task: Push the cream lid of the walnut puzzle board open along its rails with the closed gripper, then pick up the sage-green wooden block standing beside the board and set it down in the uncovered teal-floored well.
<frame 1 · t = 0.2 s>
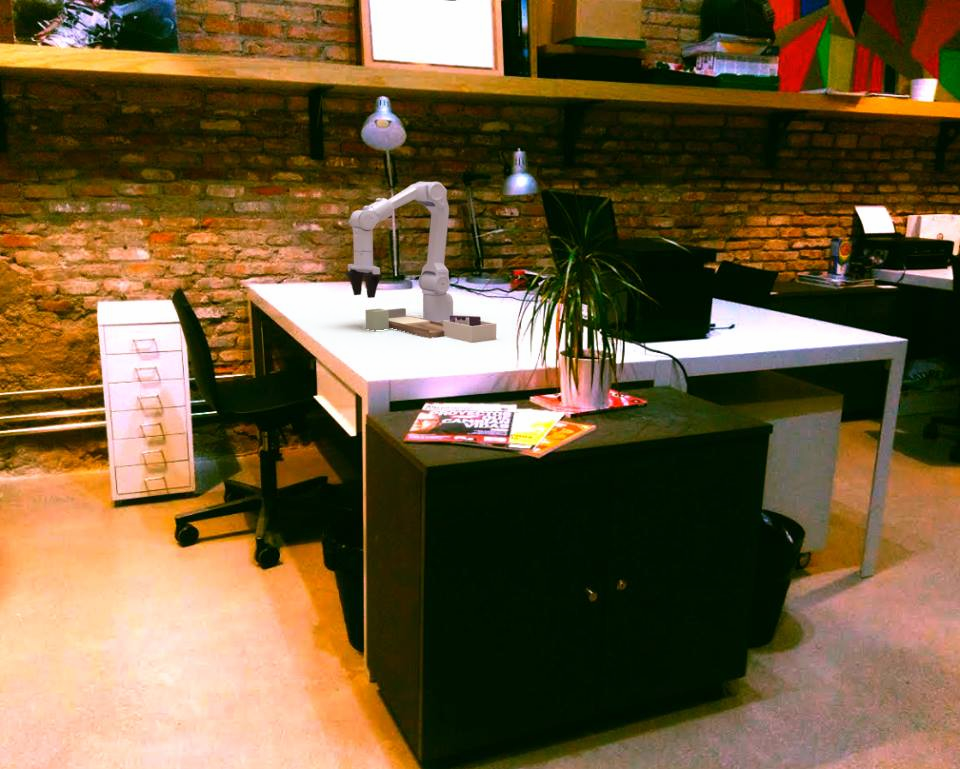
hand: (364, 296, 259), 10 cm above the table, tool pointing down, fingers open, 7 cm apart
lid: (404, 316, 264), point 3 cm above the table, slide at 0.0 cm
sage block: (377, 329, 260), on the table
black piece: (464, 338, 249), resting in beige open box
beige open box: (469, 337, 249), on the table
board: (417, 329, 260), on the table
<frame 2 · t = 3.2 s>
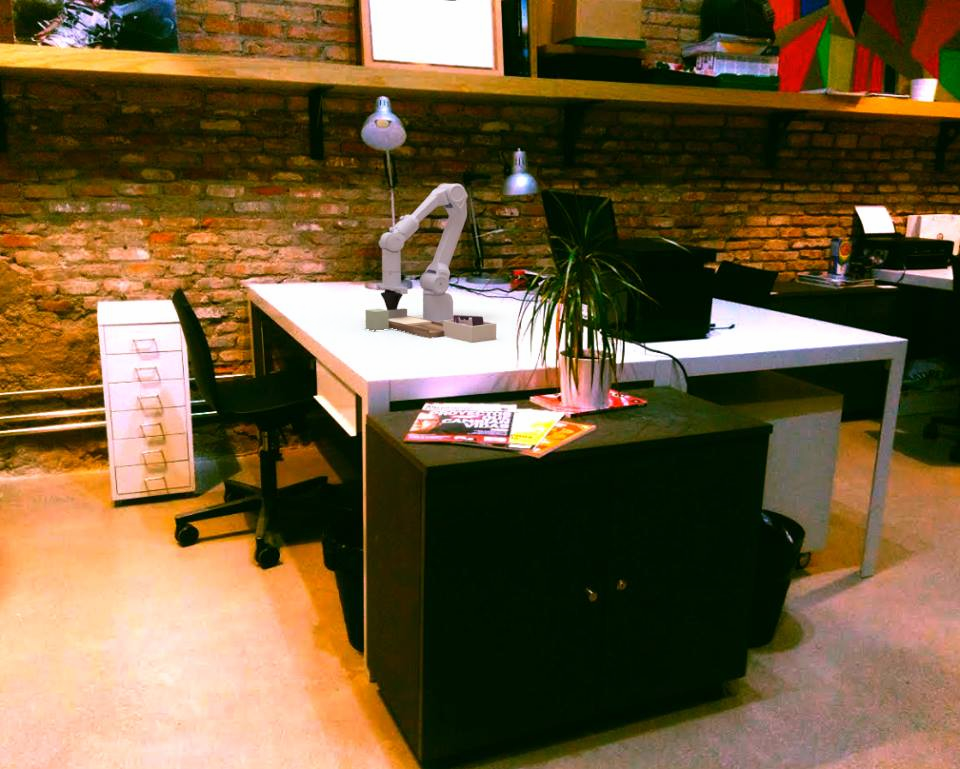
hand: (391, 314, 270), 3 cm above the table, tool pointing down, fingers closed
lid: (406, 317, 264), point 3 cm above the table, slide at 0.7 cm, touching gripper
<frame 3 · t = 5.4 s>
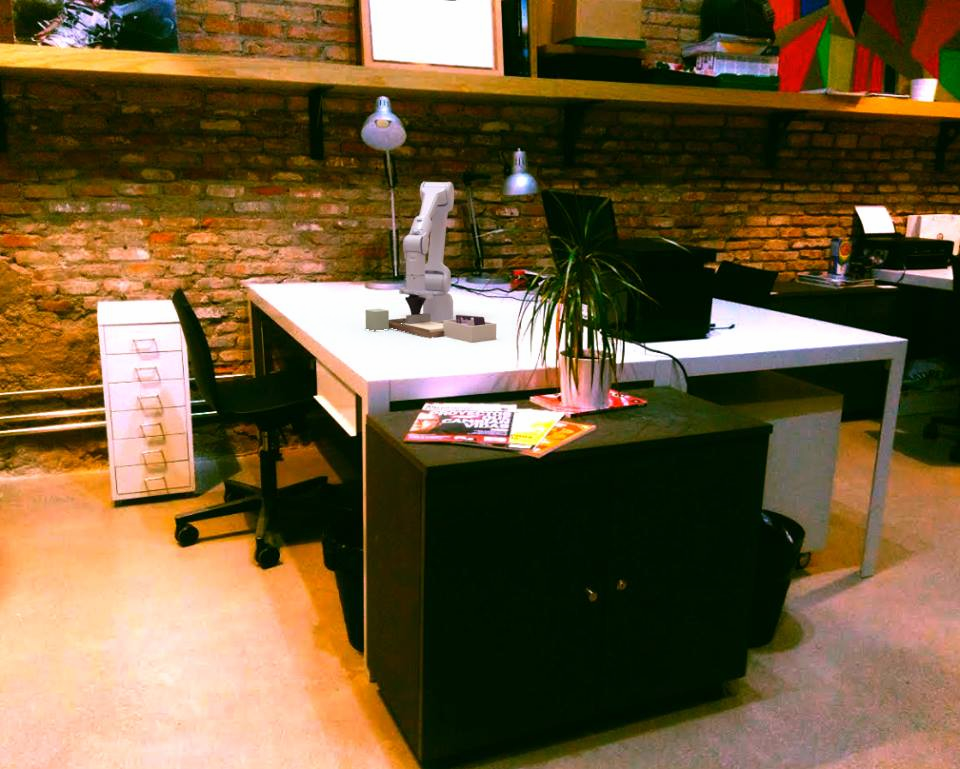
hand: (415, 319, 260), 3 cm above the table, tool pointing down, fingers closed
lid: (429, 322, 255), point 3 cm above the table, slide at 12.9 cm, touching beige open box, gripper
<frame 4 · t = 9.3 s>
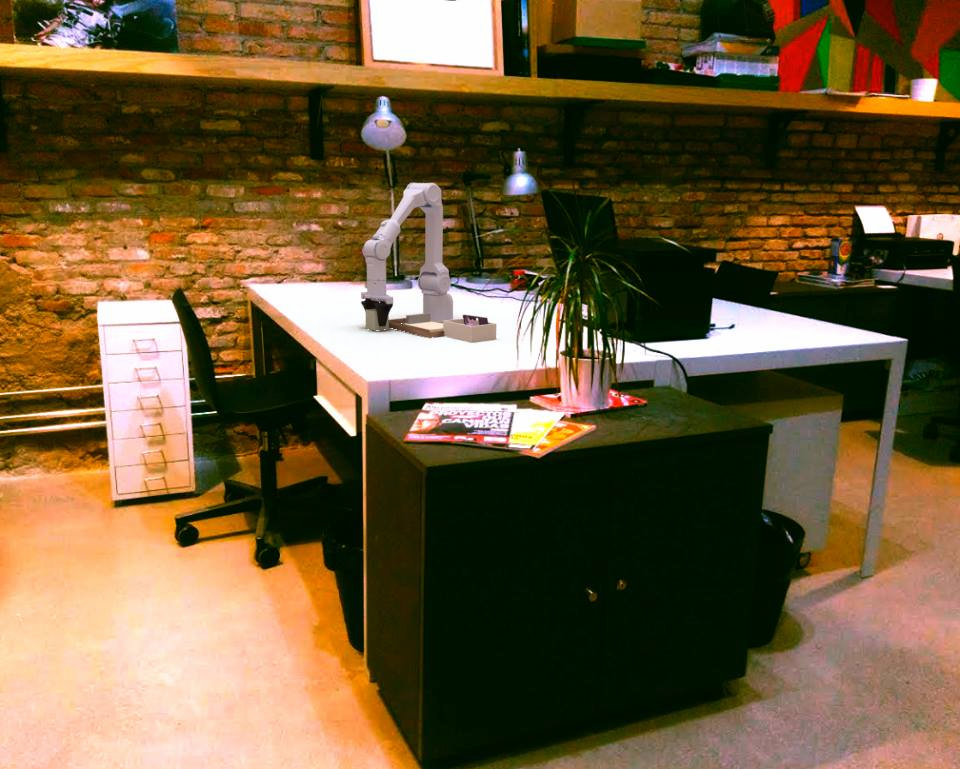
hand: (377, 324, 259), 1 cm above the table, tool pointing down, fingers closed on sage block, 5 cm apart
lid: (429, 322, 255), point 3 cm above the table, slide at 12.9 cm, touching beige open box
sage block: (377, 329, 260), on the table, touching gripper
black piece: (474, 338, 248), resting in beige open box
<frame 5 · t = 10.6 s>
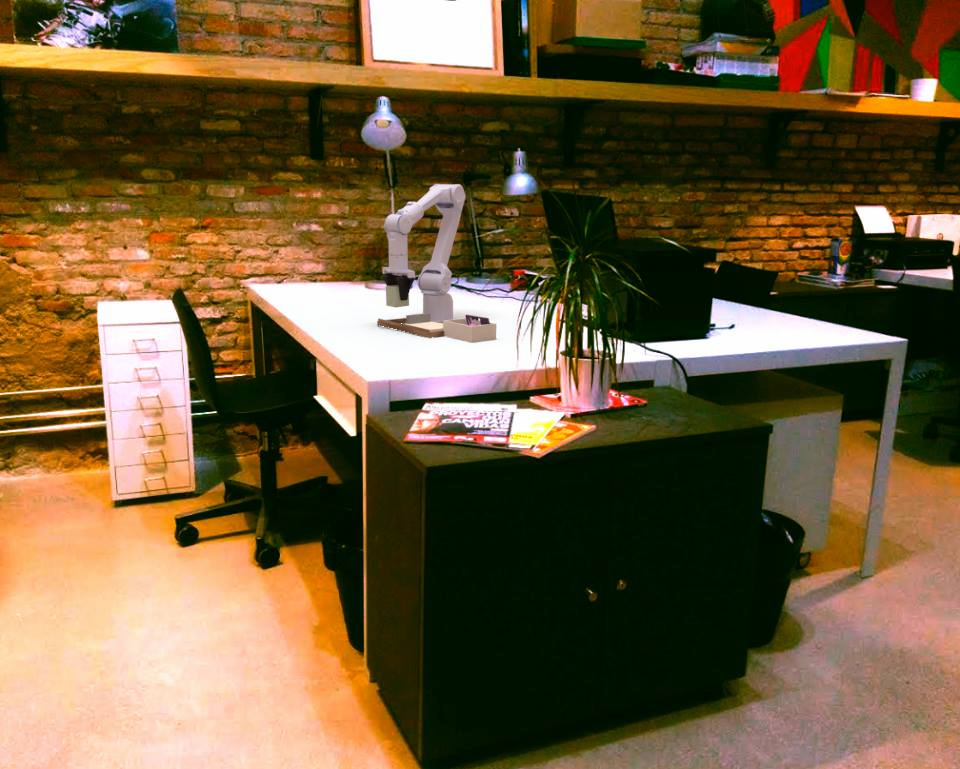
hand: (398, 299, 262), 9 cm above the table, tool pointing down, fingers closed on sage block, 5 cm apart
sage block: (397, 305, 262), point 7 cm above the table, touching gripper
when the fingers open (3 cm above the table, at t = 12.3 s): sage block stays where it is, resting on board.
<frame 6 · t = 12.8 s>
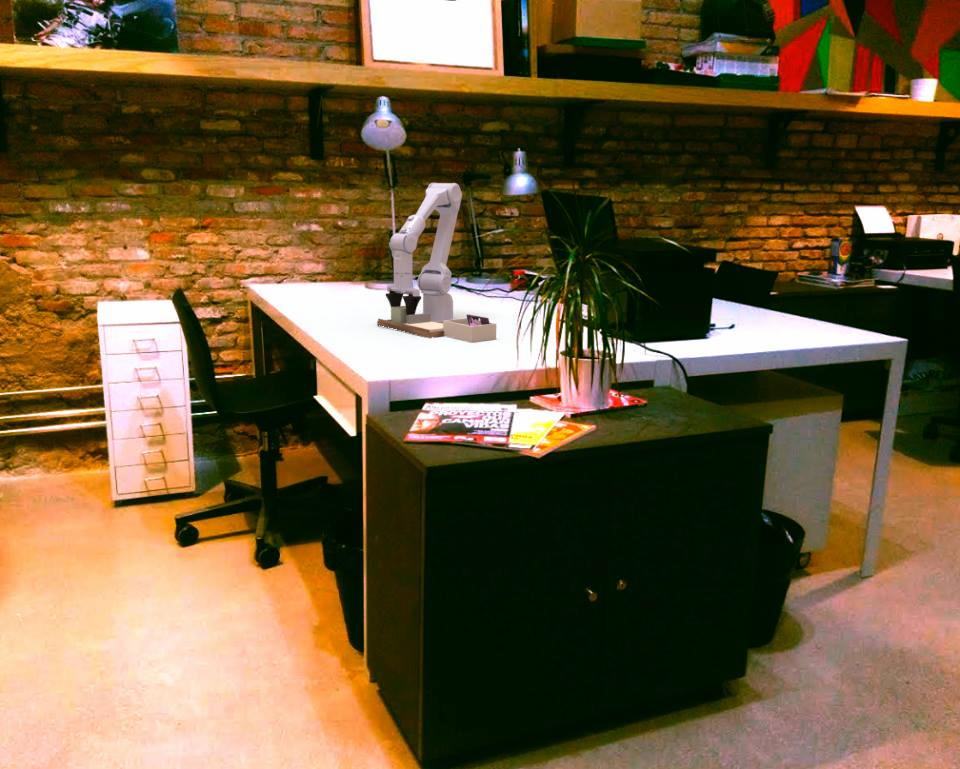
hand: (403, 317, 264), 3 cm above the table, tool pointing down, fingers open, 7 cm apart
sage block: (402, 326, 264), resting on board
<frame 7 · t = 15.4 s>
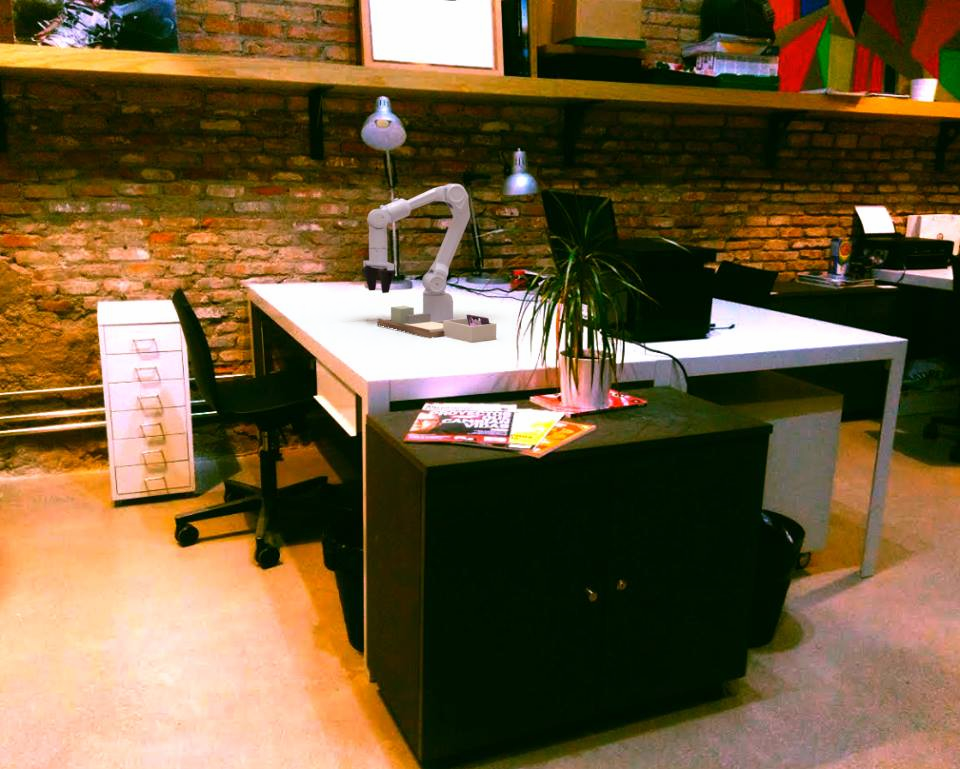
hand: (378, 291, 271), 10 cm above the table, tool pointing down, fingers open, 7 cm apart
nothing on the table moved.
at the end: sage block inside the target area (0.7 cm from its centre), resting on board; lid slide at 12.9 cm; sage block tilted 0° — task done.
